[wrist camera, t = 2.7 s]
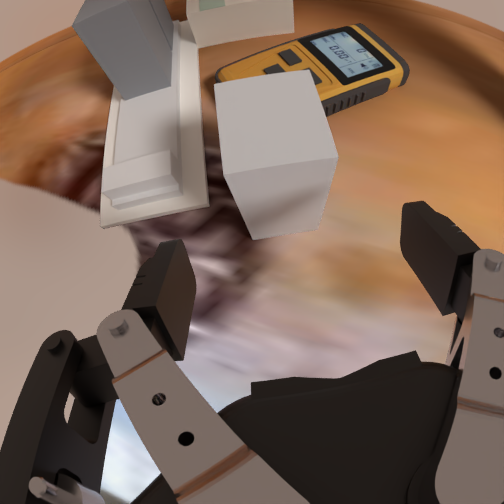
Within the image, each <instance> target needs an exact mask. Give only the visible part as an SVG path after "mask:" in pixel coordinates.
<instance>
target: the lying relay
mask: <svg viewBox="0 0 504 504" xmlns="http://www.w3.org/2000/svg"><path fill="white" fill-rule="evenodd" d="M186 15H187V18H188V21H189V24H190V27H191V29H192V32H193V35H194V38H195V41H196V43H197V46H198V49H199V48H203V47H207V46H212V45H216V44H221V43H226V42H231V41H237V40H243V39H249V38H255V37H262V36H269V35H277V34H287V33H294V12H293V0H187V5H186Z"/></svg>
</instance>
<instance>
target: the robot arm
mask: <svg viewBox="0 0 504 504" xmlns="http://www.w3.org/2000/svg"><path fill="white" fill-rule="evenodd" d="M400 246H401V251H402V254H403V257H404V258H405V260H406V261H407V262H408V264H409V265H410V267H411V268H412V270H413V271H414V272H415V274H416V275H417V277H418V278H419V280H420V281H421V283H422V284H423V286H424V287H425V289H426V290H427V292H428V293H429V295H430V297H431V298H432V300H433V301H434V303H435V304H436V306H437V307H438V309H439V311H440V312H441V314H442V316H444V315H448V314H451V313H454V312H455V313H456V314H457V317H456V320H455V323H454V328H453V333H452V337H451V342H450V346H449V351H448V355H447V359H446V363H445V364H441V363H435V362H421V361H420V358H419V356H418V354H417V352H416V351H412V352H409V353H405V354H401V355H398V356H394V357H390V358H386V359H382V360H378V361H376V362H374V363H372V364H370V365H368V366H366V367H364V368H362V369H360V370H358V371H355V372H353V373H351V374H349V375H347V376H344V377H342V378H336V379H332V378H304V377H290V378H283V379H275V380H268V381H260V382H251V395H249V396H246V397H243V398H241V399H239V400H237V401H235V402H233V403H231V404H229V405H228V406H226V407H225V408H223V409H222V410H221V411H219V412H218V413H216V412H215V411H214V409H213V408H212V407H211V406H210V405H209V404H208V402H207V401H206V400H205V399H204V398H203V396H202V395H201V394H200V393H199V392H198V390H197V389H196V388H195V387H194V386H193V384H192V383H191V382H190V381H189V379H188V378H187V377H186V376H185V374H184V373H183V372H182V371H181V369H180V368H179V367H178V365H177V364H176V363H175V361H183V360H184V355H185V349H186V343H187V338H188V332H189V326H190V321H191V316H192V310H193V305H194V300H195V295H196V279H195V275H194V272H193V269H192V266H191V263H190V260H189V257H188V254H187V252H186V249H185V246H184V243H183V241H182V240H181V239H177V240H171V241H166V242H161V243H160V244H159V246H158V248H157V250H156V253H155V255H154V257H153V258H149V259H148V260H147V261H146V262H145V263H144V264H143V265H142V266H141V267H140V269H139V271H138V273H137V275H136V278H135V280H134V282H133V286H131V289H130V291H129V293H128V295H127V298H126V300H125V302H124V305H123V307H122V309H121V310H120V311H117V312H114V313H112V314H110V315H109V316H108V317H106V318H105V319H104V320H103V321H102V322H101V323H100V325H99V327H98V329H97V335H94V336H91V337H88V338H85V339H82V340H79V341H77V339H76V338H75V336H74V335H73V334H72V333H71V332H70V331H67V330H62V331H58V332H56V333H54V334H52V335H51V336H49V337H48V338H47V339H46V340H45V341H44V342H43V344H42V346H41V347H40V349H39V352H38V354H37V356H36V358H35V360H34V362H33V365H32V367H31V369H30V371H29V374H28V376H27V378H26V381H25V383H24V386H23V388H22V391H21V393H20V396H19V398H18V401H17V403H16V406H15V409H14V411H13V414H12V417H11V420H10V423H9V425H8V428H7V431H6V435H5V437H4V441H3V444H2V447H1V450H0V504H106V503H105V501H104V499H103V498H102V497H101V495H100V488H101V480H102V473H103V467H104V460H105V454H106V449H107V443H108V437H109V432H110V427H111V422H112V417H113V412H114V407H115V402H116V399H120V401H121V403H122V405H123V407H124V409H125V411H126V413H127V414H128V416H129V418H130V420H131V422H132V424H133V426H134V428H135V430H136V431H137V433H138V435H139V437H140V438H141V440H142V442H143V444H144V445H145V447H146V449H147V451H148V452H149V454H150V456H151V457H152V459H153V460H154V462H155V464H156V465H157V467H158V468H159V470H160V472H161V473H160V475H159V476H158V477H157V478H156V479H155V480H154V481H153V482H152V483H151V484H150V485H149V486H148V487H147V488H146V489H145V490H144V491H143V492H142V493H141V494H140V495H139V496H138V497H137V498H136V499H134V500H133V501H132V502H131V503H130V504H504V254H502V253H500V252H498V251H496V250H492V249H480V248H479V247H478V246H477V245H476V244H475V243H474V242H473V241H472V240H471V239H470V238H469V237H468V236H467V235H466V234H465V233H464V232H462V230H461V229H460V228H459V227H458V226H456V224H455V223H453V222H452V221H451V220H450V219H449V218H448V217H446V216H444V215H442V214H440V213H438V212H436V211H434V210H433V209H432V208H431V207H430V206H429V205H428V204H427V203H425V202H424V201H417V202H410V203H405V204H404V205H403V208H402V221H401V236H400ZM69 392H70V393H71V394H72V395H73V396H74V397H75V399H74V403H73V406H72V410H71V413H70V417H69V420H68V424H67V423H66V421H65V418H64V408H65V405H66V401H67V398H68V395H69Z"/></svg>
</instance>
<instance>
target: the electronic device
mask: <svg viewBox="0 0 504 504" xmlns="http://www.w3.org/2000/svg"><path fill="white" fill-rule="evenodd" d="M300 70H310V73H311V76H312V78H313V81H314V84H315V86H316V89H317V92H318V95H319V98H320V101H321V103H322V106H323V109H324V112H325V115H326V117H327V116H329V115H332V114H334V113H337V112H339V111H341V110H344V109H346V108H349V107H351V106H354V105H356V104H359V103H361V102H364V101H366V100H369V99H372V98H374V97H377V96H379V95H382V94H384V93H386V92H387V91H388V90H390V89H393V88H396V87H399V86H402V85H404V84H405V83H406V80H407V78H408V76H409V71H410V69H409V66H408V64H407V63H406V61H405V60H404V59H403V58H402V57H401V56H400V55H399V54H397V53H396V52H395V51H394V50H393V49H392V48H391V47H390V46H389V45H387V44H386V43H385V42H384V41H383V40H382V39H380V38H379V37H378V36H377V35H376V34H374V33H373V32H372V31H371V30H369V29H368V28H367V27H366V26H364V25H363V24H361V23H359V24H354V25H351V26H345V27H341V28H337V29H329V30H325V31H321V32H318V33H314V34H311V35H308V36H304V37H301V38H298V39H295V40H292V41H289V42H285V43H283V44H280V45H277V46H274V47H271V48H268V49H266V50H263V51H260V52H258V53H255V54H252V55H250V56H247V57H245V58H242V59H240V60H237V61H235V62H233V63H230V64H228V65H226V66H223V67H221V68H220V69H218V70H217V72H216V74H215V80H216V84H217V83H222V82H227V81H232V80H238V79H243V78H249V77H255V76H261V75H268V74H275V73H283V72H291V71H300Z"/></svg>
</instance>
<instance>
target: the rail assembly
mask: <svg viewBox="0 0 504 504" xmlns="http://www.w3.org/2000/svg"><path fill="white" fill-rule="evenodd" d="M72 27H73V28H74V30H75V31H76V33H77V34H78V35H79V37H80V38H81V40H82V41H83V43H84V44H85V45H86V47H87V48H88V50H89V51H90V52H91V54H92V55H93V57H94V58H95V59H96V61H97V62H98V64H99V65H100V66H101V68H102V69H103V71H104V72H105V73H106V75H107V76H108V78H109V79H110V80H111V82H112V83H113V84H114V88H113V94H112V100H111V106H110V112H109V119H108V126H107V134H106V142H105V151H104V162H103V174H102V188H101V208H100V227H102V228H103V229H105V228H110V227H114V226H118V225H123V224H127V223H132V222H136V221H141V220H145V219H150V218H155V217H159V216H164V215H169V214H174V213H179V212H184V211H189V210H194V209H199V208H204V207H210V205H209V195H208V184H207V173H206V161H205V149H204V136H203V122H202V107H201V92H200V75H199V55H198V46H197V43H196V41H195V38H194V35H193V32H192V29H191V27H190V24H189V21H188V20H186V21H182V22H179V20H176V21H172V19H171V17H170V14H169V12H168V9H167V7H166V4H165V2H164V0H85V2H84V4H83V5H82V7H81V9H80V11H79V13H78V15H77V17H76V19H75V21H74V23H73V25H72Z"/></svg>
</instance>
